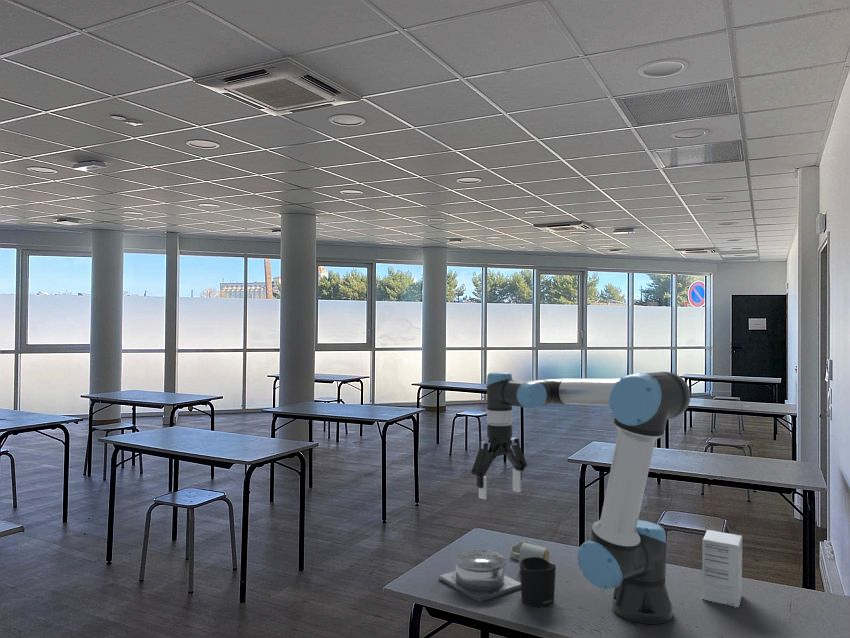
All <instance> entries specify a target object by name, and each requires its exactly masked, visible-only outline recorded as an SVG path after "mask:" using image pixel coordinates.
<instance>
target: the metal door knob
mask: <svg viewBox="0 0 850 638" xmlns="http://www.w3.org/2000/svg"><path fill="white" fill-rule="evenodd" d="M454 564H455V570H454V571H453V570H452V571H449V572H447V573H444V574H439V575H438V580H439V579H440V580H439V581H440V582H442V581H443V583H444V584H446V585H448V586H449V587H451V588H452V589H455V590H456V591H458V592H460V593H462V594H463V595H465V596H468V597H469V598H471V599H472V600H474V601H476V602H477V603H483V602H485V601H488V600H491V599H494V598H498V597H500V596H503V595H505V594H508V593H512V592H515V591H517V590H521V581H520V582H519V581H517V580H516V579H514V578H511V577H509V576H508V575H506V573H505V568H506V567H505V566H506V564H507V558H506V557H505V556H504V555H503V554H501V553H499V552H497V551H494V550H489V549H481V548H480V549H474V548H473V549H465V550H463V551H460V552H458V553H457V554H455V556H454Z"/></svg>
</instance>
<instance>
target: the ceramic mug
mask: <svg viewBox="0 0 850 638" xmlns="http://www.w3.org/2000/svg"><path fill="white" fill-rule="evenodd" d="M536 545H537V544H536ZM536 545H532V544H528V543H523V544H522V546H521V548H520V553H519V560H518V567H519V569H520V570H521V560H523V559H525V558H529V557H540V558H543V559H545V560H546V561H548V562H549V563H550V551H549V549H548V548H546V547H544V546H539V545H537V546H536Z"/></svg>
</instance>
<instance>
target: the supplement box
mask: <svg viewBox="0 0 850 638" xmlns="http://www.w3.org/2000/svg"><path fill="white" fill-rule="evenodd" d="M701 545H702V546H701V547H702V548H701V549H702V551H701V552H702V553H701V554H702V555H701V556H702V557H701V558H702V560H701V561H702V563H701V564H702V565H701V568H702V569H701V570H702V571H701V574H702V575H701V580H702V581H701V600H702V599H705V600H709V601H714V602H718V603H723V604H727V605H731V606H736V607H739V608H740V604H741V601H742V596H743V583H742V582H743V580H742V579H743V535H740V534H734V533H727V532H724V531H723V532H722V531H717V530H712V529H711V530H709V529H706V531H705V534H704V536H703V538H702V544H701ZM705 600H704V601H705ZM709 601H708V602H709ZM714 602H713V603H714ZM718 603H717V604H718ZM727 605H726V606H727ZM731 606H730V607H731ZM736 607H735V608H736Z"/></svg>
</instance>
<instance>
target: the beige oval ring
mask: <svg viewBox="0 0 850 638" xmlns="http://www.w3.org/2000/svg"><path fill="white" fill-rule="evenodd" d="M523 543H528V544H532V545H536V546H538V545H537V544H536V543H533V542H532V543H531V542H529V541H527V540H526V539H525V540H519V541H518V542H517V543H515V544H513V545H512V546H511V547H510V557H511V559H513V560H516V561H519V553H520V548H521V546H522V544H523Z"/></svg>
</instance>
